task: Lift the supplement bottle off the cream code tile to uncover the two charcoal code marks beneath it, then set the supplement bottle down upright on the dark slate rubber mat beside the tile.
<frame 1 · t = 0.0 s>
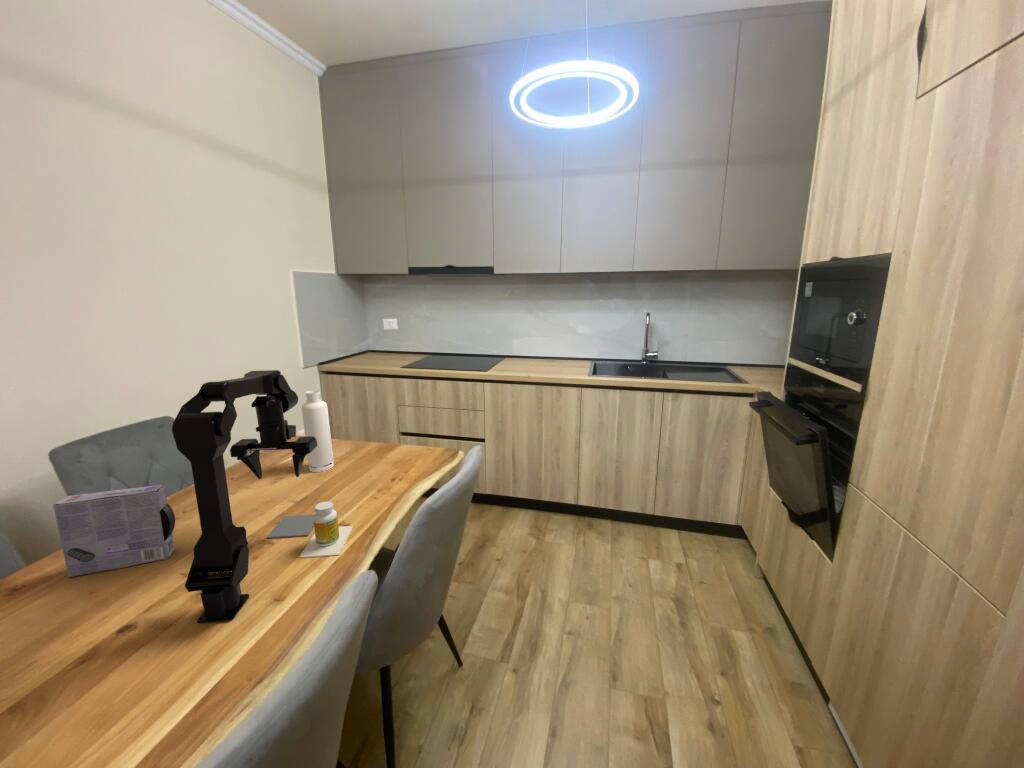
hand: (279, 477, 105), 15 cm above the table, tool pointing down, fingers open, 9 cm apart
bottle: (321, 468, 145), on the table
cake pan box: (128, 562, 95), on the table
supplement bottle: (328, 541, 102), resting on code tile
slate mat: (295, 526, 109), on the table
code tile: (328, 541, 102), on the table
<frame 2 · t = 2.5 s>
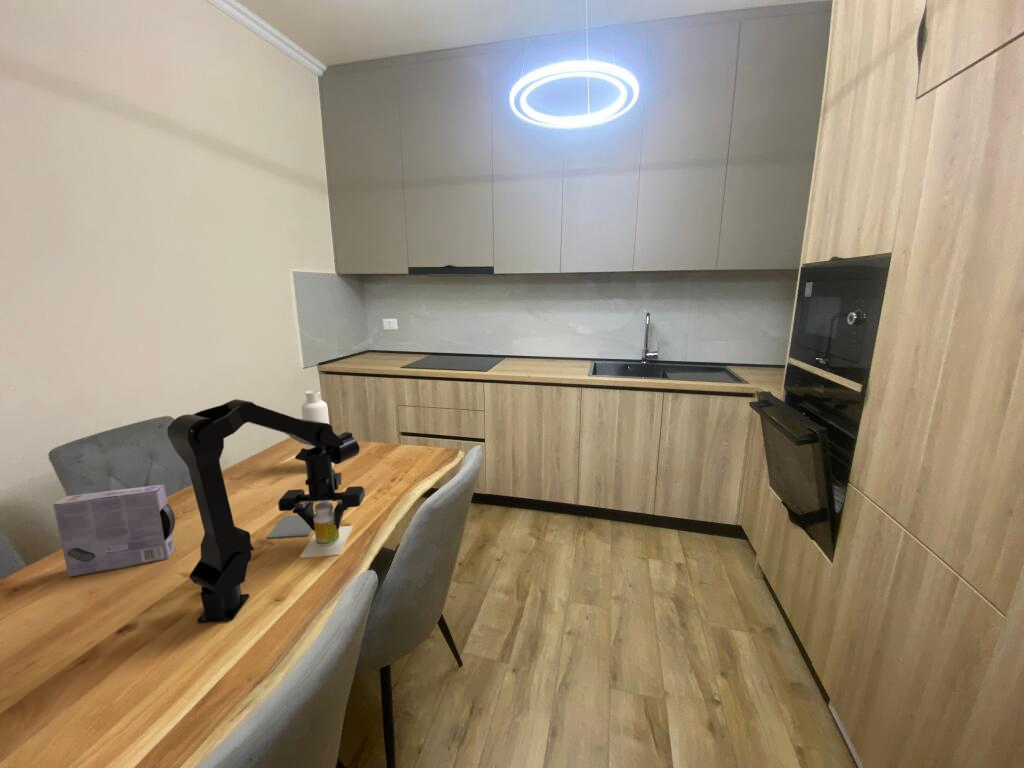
hand: (326, 529, 101), 4 cm above the table, tool pointing down, fingers closed on supplement bottle, 5 cm apart
supplement bottle: (328, 541, 102), resting on code tile, touching gripper
everything else where it was.
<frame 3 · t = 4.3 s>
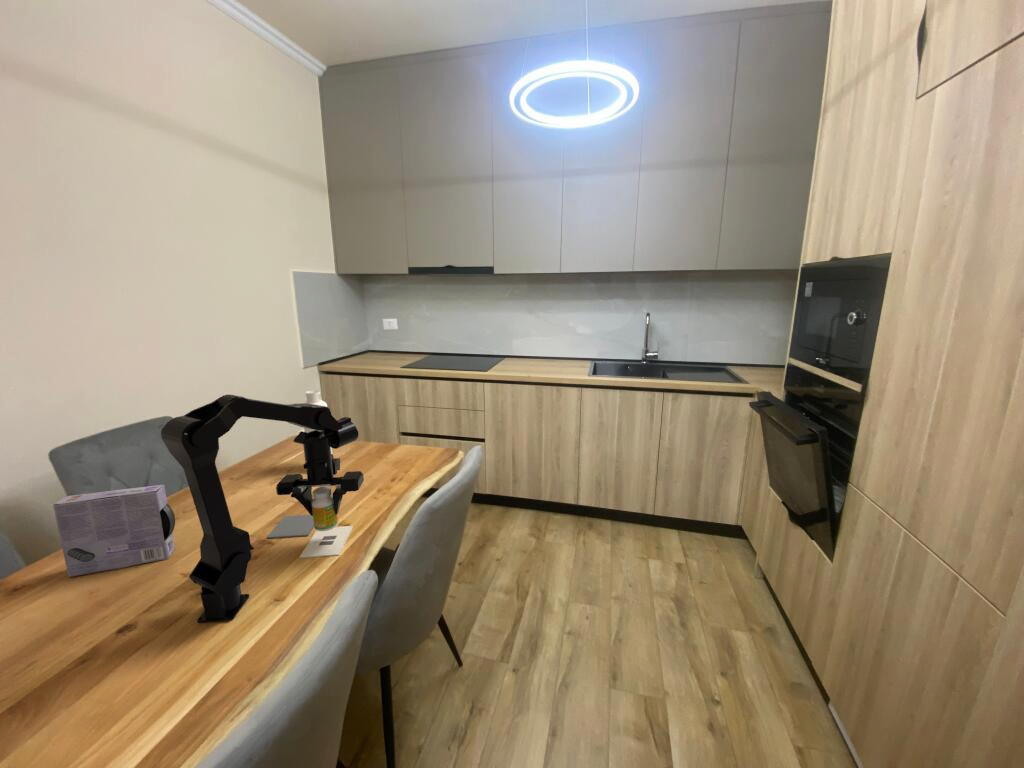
hand: (325, 514, 100), 8 cm above the table, tool pointing down, fingers closed on supplement bottle, 5 cm apart
supplement bottle: (326, 526, 101), point 4 cm above the table, touching gripper
everything else where it was.
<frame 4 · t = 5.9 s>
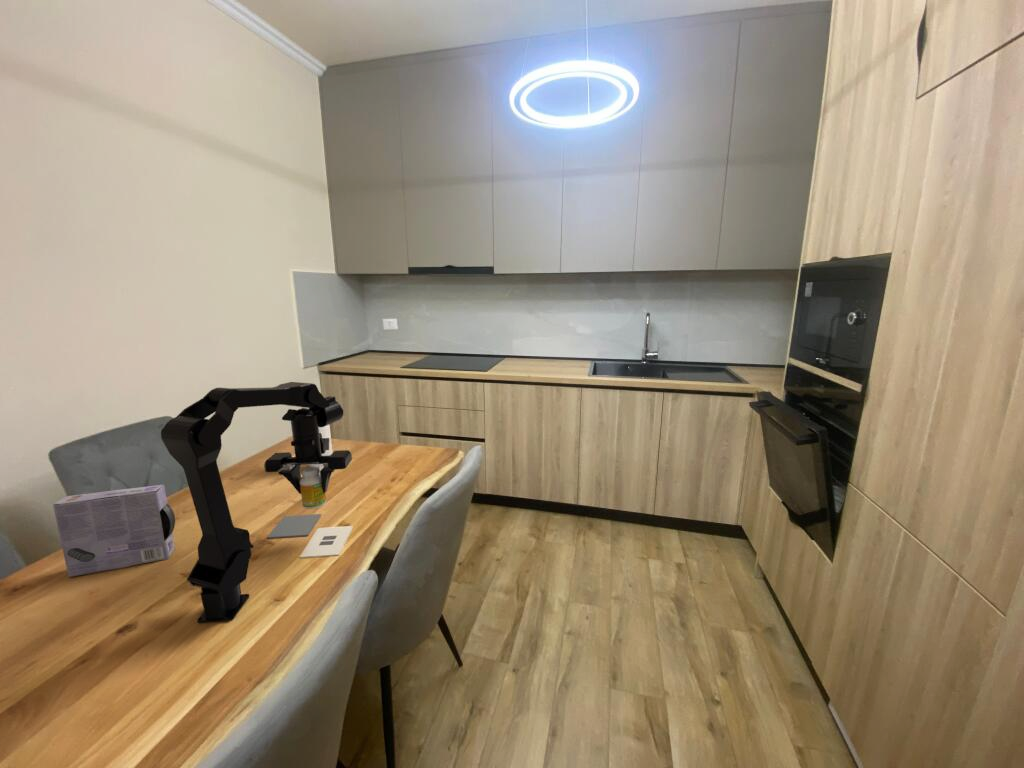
hand: (313, 492, 101), 12 cm above the table, tool pointing down, fingers closed on supplement bottle, 5 cm apart
supplement bottle: (314, 504, 102), point 9 cm above the table, touching gripper
everything else where it was.
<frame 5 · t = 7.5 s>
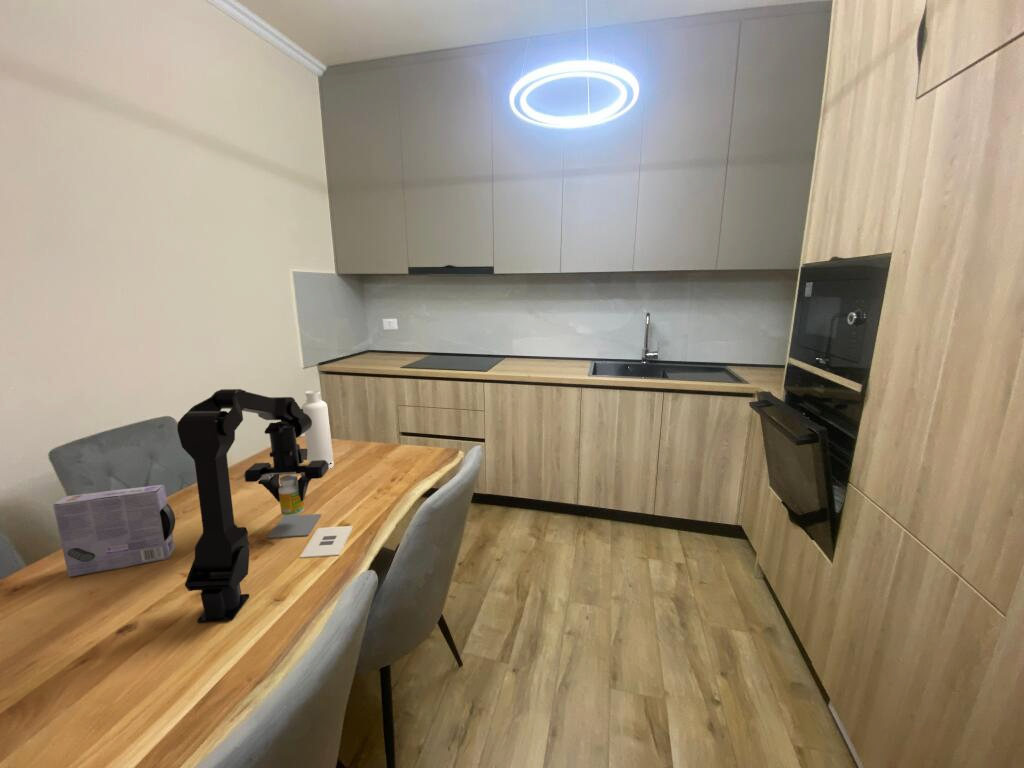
hand: (291, 500, 107), 8 cm above the table, tool pointing down, fingers closed on supplement bottle, 5 cm apart
supplement bottle: (293, 512, 108), point 4 cm above the table, touching gripper
everything else where it was.
when the fingers open (5 cm above the table, at t = 8.8 s): supplement bottle drops 1 cm, resting on slate mat.
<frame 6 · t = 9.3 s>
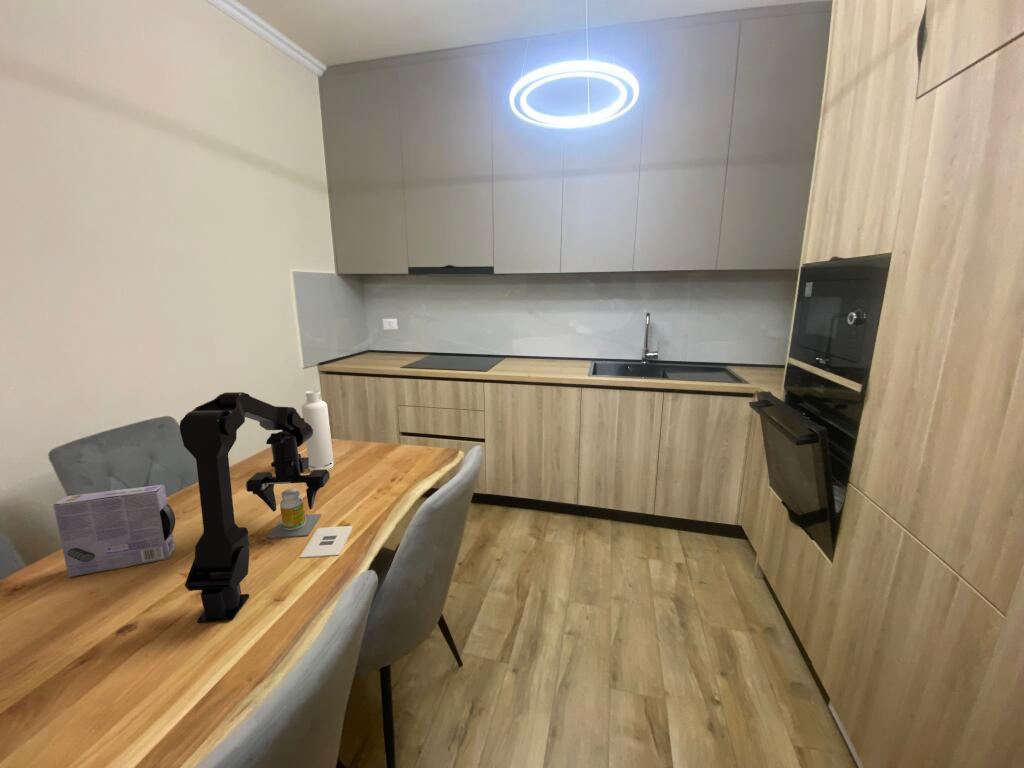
hand: (293, 509, 107), 5 cm above the table, tool pointing down, fingers open, 9 cm apart
supplement bottle: (294, 525, 109), resting on slate mat
everything else where it was.
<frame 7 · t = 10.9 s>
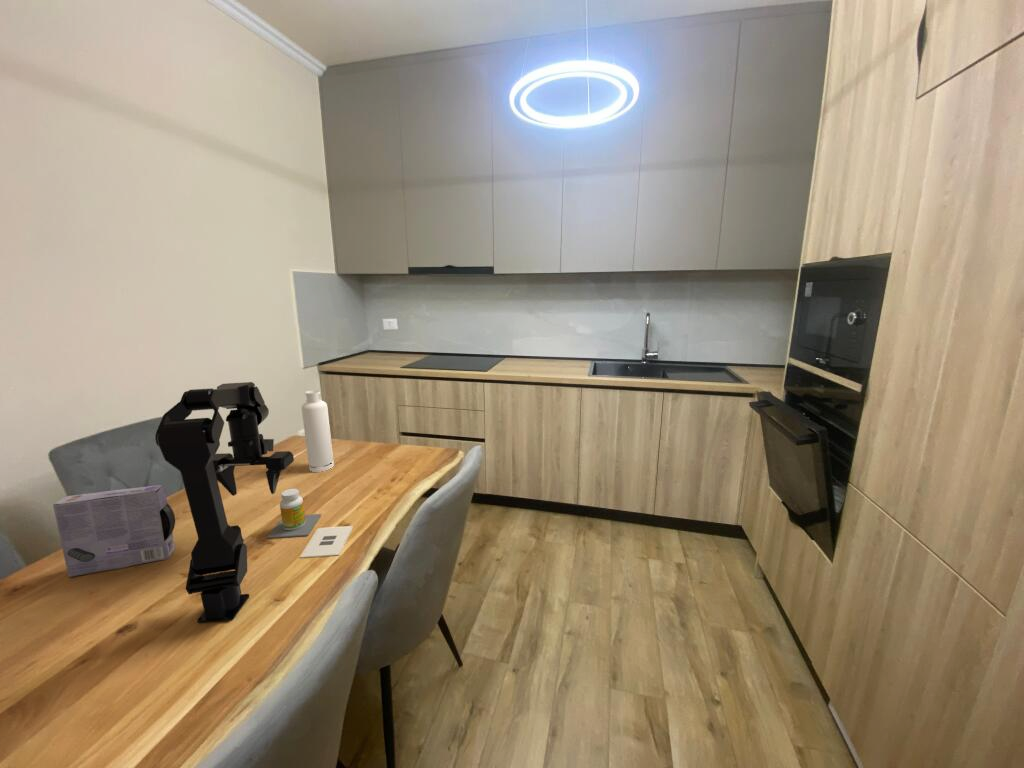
hand: (254, 494, 100), 13 cm above the table, tool pointing down, fingers open, 9 cm apart
nothing on the table moved.
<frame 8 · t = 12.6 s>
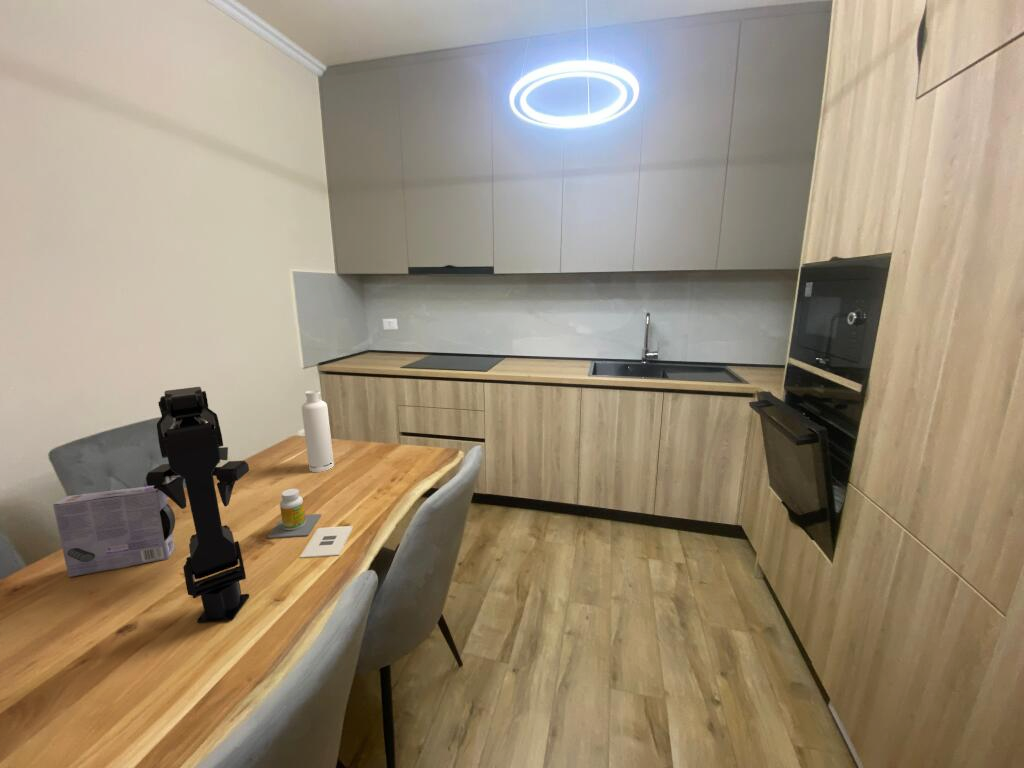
hand: (205, 506, 94), 13 cm above the table, tool pointing down, fingers open, 9 cm apart
nothing on the table moved.
at the end: supplement bottle inside the target area on the slate mat (0.2 cm from its centre), point 0.2 cm above the slate mat's base; supplement bottle tilted 0°; supplement bottle touching slate mat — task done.
